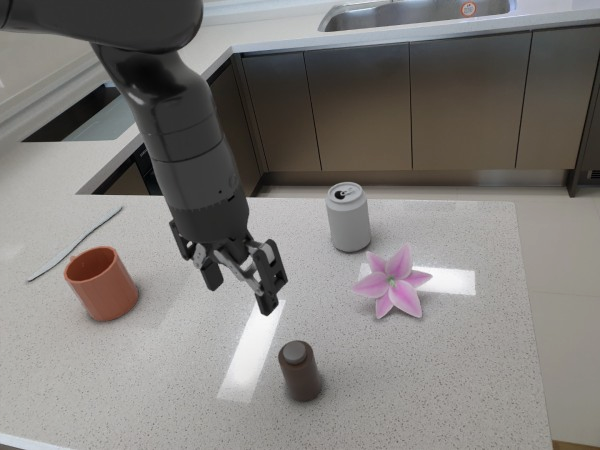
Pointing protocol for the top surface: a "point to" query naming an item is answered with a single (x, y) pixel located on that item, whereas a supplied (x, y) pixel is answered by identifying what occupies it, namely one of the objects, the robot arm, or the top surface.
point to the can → (348, 216)
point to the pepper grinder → (300, 370)
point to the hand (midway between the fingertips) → (242, 297)
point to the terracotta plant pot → (101, 283)
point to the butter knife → (73, 244)
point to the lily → (392, 282)
